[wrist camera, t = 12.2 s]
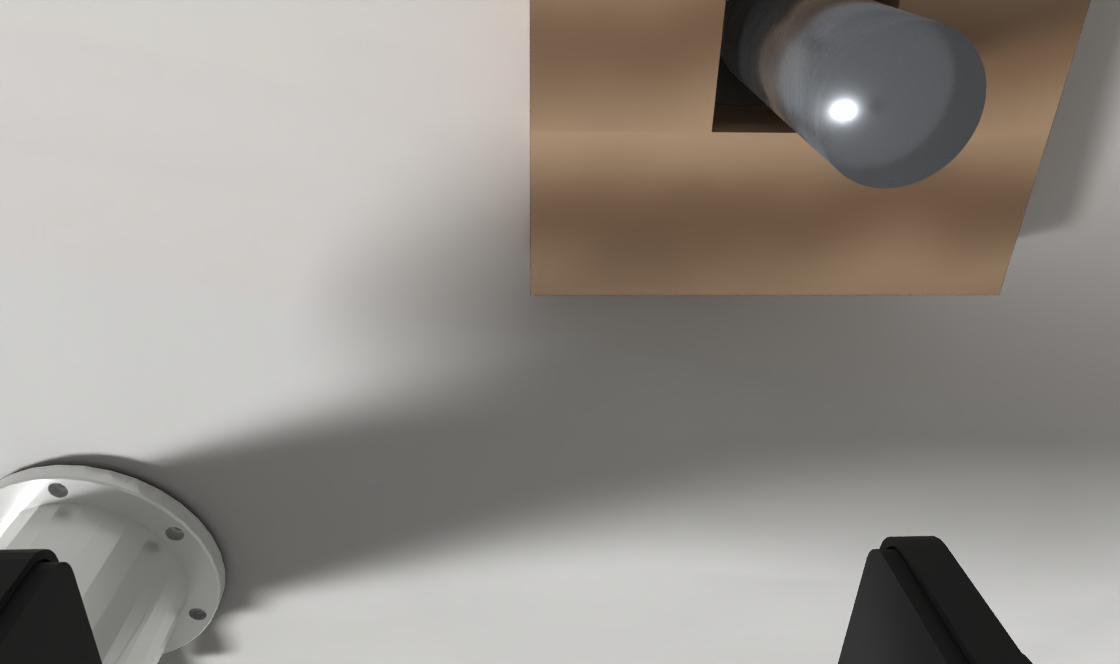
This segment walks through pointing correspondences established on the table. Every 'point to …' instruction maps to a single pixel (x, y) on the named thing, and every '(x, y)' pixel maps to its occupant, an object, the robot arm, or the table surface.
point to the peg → (860, 82)
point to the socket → (765, 162)
